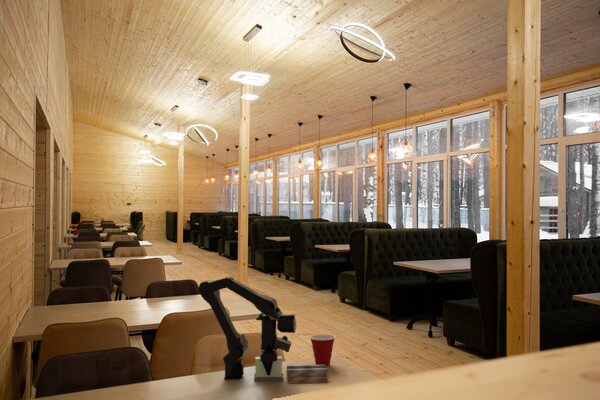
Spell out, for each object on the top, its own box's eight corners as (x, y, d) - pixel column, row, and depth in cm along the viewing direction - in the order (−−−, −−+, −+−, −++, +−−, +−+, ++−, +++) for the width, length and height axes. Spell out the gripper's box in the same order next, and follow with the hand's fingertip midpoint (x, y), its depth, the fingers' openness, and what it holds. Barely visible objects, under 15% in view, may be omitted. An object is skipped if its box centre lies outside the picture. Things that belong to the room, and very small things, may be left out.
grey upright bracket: (253, 381, 168) (253, 378, 169) (254, 376, 174) (254, 373, 174) (283, 380, 169) (283, 377, 169) (282, 375, 175) (282, 372, 175)
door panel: (255, 380, 170) (255, 358, 170) (255, 378, 172) (255, 356, 173) (281, 379, 171) (281, 358, 171) (281, 377, 173) (281, 356, 173)
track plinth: (287, 382, 167) (287, 372, 167) (286, 373, 177) (286, 363, 177) (327, 381, 168) (327, 371, 168) (324, 372, 178) (324, 362, 178)
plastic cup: (328, 359, 195) (328, 331, 196) (340, 367, 185) (340, 337, 186) (305, 362, 191) (305, 333, 192) (316, 370, 181) (316, 340, 182)
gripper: (291, 337, 164) (291, 381, 163) (288, 325, 182) (288, 365, 182) (260, 338, 163) (260, 382, 162) (261, 326, 181) (260, 365, 181)
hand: (268, 373), depth 172 cm, fingers open, 4 cm apart
